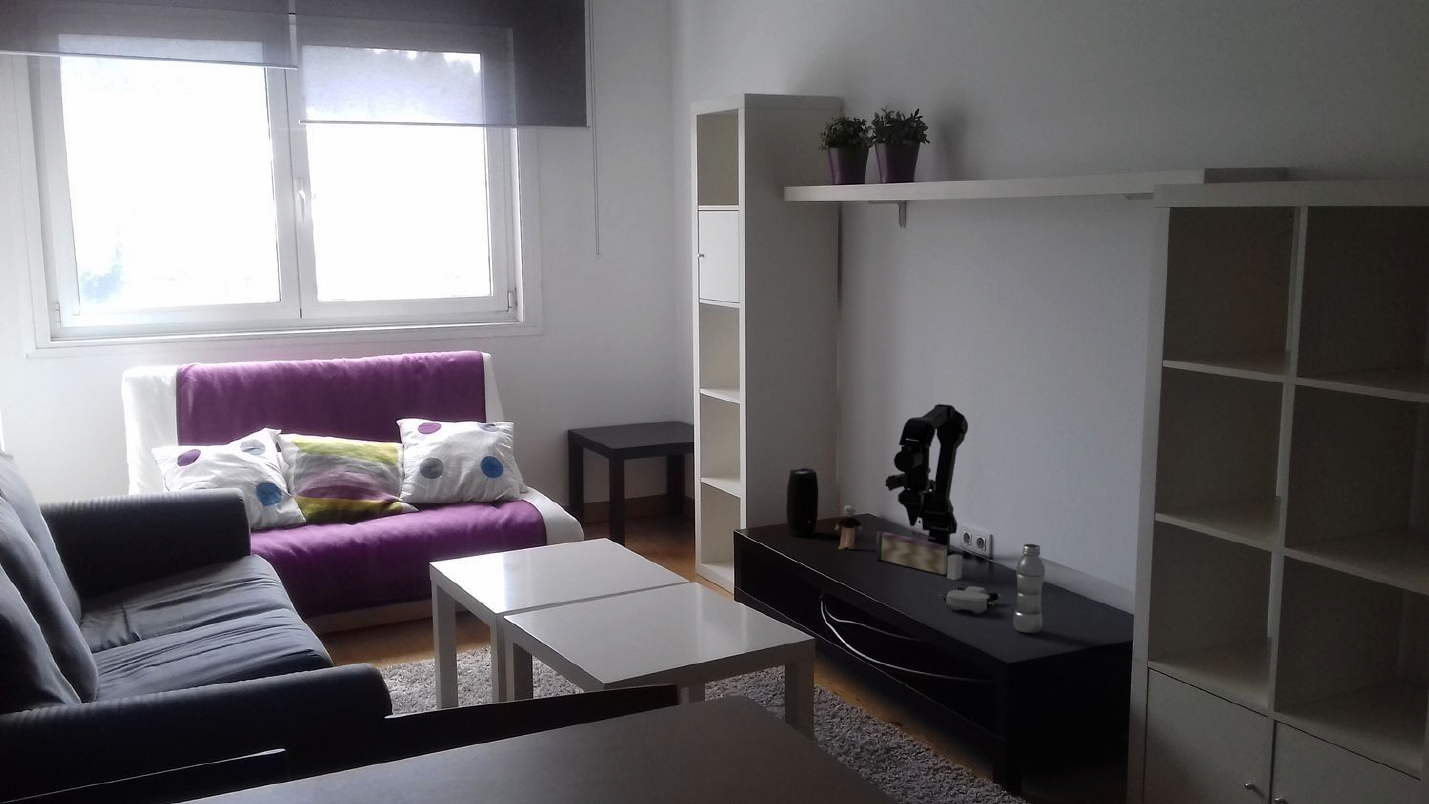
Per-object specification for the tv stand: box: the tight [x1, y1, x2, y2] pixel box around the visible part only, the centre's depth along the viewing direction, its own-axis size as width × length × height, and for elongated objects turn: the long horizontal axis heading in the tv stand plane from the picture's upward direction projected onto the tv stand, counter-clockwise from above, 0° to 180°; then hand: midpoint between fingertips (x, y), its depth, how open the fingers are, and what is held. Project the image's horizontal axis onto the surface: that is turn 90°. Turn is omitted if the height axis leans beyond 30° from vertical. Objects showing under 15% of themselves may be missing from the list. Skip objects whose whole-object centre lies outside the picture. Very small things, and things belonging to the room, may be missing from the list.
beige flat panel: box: [875, 530, 948, 575], centre depth 327 cm, size 22×2×8 cm, turn 46°
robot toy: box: [939, 585, 1002, 614], centre depth 292 cm, size 12×4×15 cm
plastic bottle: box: [1012, 543, 1046, 634], centre depth 273 cm, size 6×7×20 cm
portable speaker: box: [785, 467, 819, 538], centre depth 361 cm, size 9×9×20 cm
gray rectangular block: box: [946, 553, 963, 581], centre depth 317 cm, size 3×2×6 cm
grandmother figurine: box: [834, 505, 863, 550], centre depth 346 cm, size 8×4×13 cm, turn 92°
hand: (916, 521), depth 327 cm, fingers open, 9 cm apart
